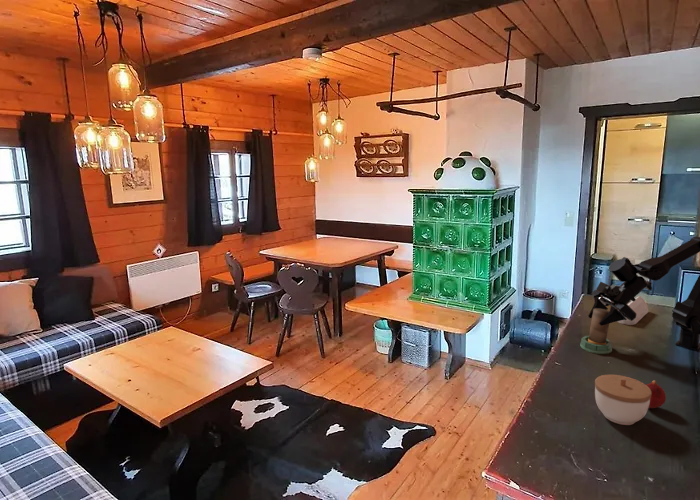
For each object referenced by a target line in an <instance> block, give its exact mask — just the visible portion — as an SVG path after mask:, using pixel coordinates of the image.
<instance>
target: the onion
mask: <svg viewBox="0 0 700 500" xmlns="http://www.w3.org/2000/svg"><path fill="white" fill-rule="evenodd" d="M646 385H647V386H648V387H649V388H650V390H651V392H652V395H651V399H650V404H649V408H648V409H655V408H659V407H661V406H663V405H664V404H665V402H666V400H667V398H666V392H665V391H664V389H663V388H662V387H661V386H660V385H658V383H657V381H656V380H655V379H654V380H652V381H651V382H650V383H647V384H646Z"/></svg>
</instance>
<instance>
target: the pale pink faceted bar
mask: <svg viewBox="0 0 700 500" xmlns="http://www.w3.org/2000/svg"><path fill="white" fill-rule="evenodd" d="M634 298H635V299H636V300H635V301H632V300H631V301H630V302H629V303H628V304H627V305H628V306H629V307H630V308H631V309H632V310H633V311H634V312H635V313H636V318H635V319H634V320H633V321H631V320H629V319H627V318H626V319H627V320H621V321H616V322H617V323H619V324H623V325H627V326H633V325H634V326H635V325H637V323H638V322H640V320H641V319H643V318H644V317H645V316H646V315H647V314H648V313H649V306H648V304H647V302H646V301H645V299H644V298H643V297H642V296H640V295H639V296H637V297H634Z"/></svg>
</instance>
